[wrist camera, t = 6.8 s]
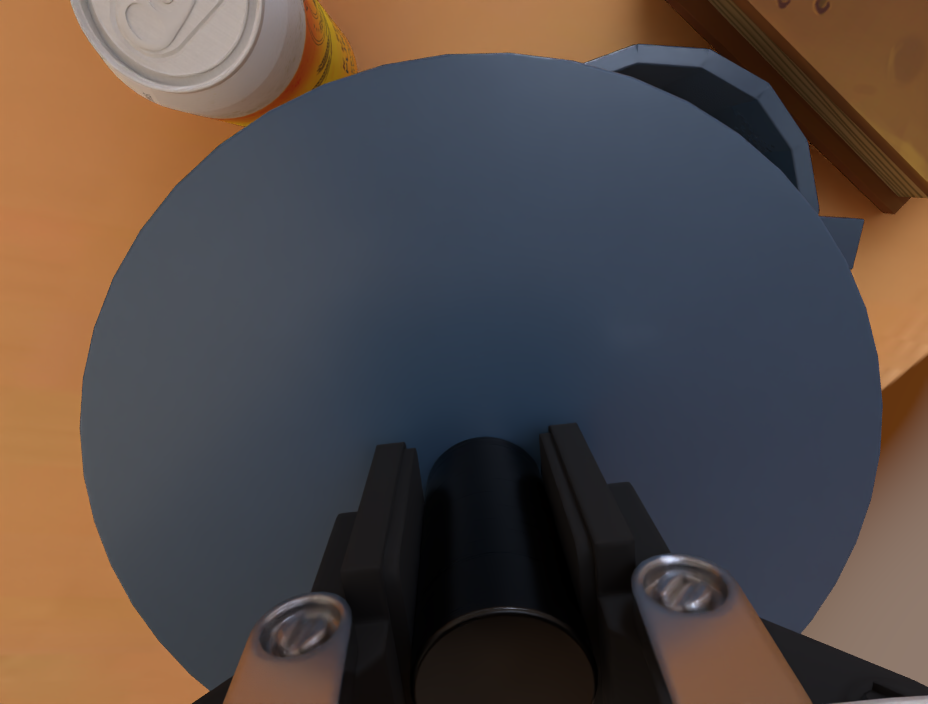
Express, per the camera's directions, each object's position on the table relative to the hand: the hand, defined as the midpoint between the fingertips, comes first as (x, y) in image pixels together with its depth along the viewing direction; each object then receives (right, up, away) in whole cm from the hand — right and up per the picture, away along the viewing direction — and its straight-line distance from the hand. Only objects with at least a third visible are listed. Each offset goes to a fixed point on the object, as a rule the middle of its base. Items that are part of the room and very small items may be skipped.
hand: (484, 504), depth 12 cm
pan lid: (0, 0, +1) cm, 1 cm away
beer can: (-9, +17, +19) cm, 27 cm away
